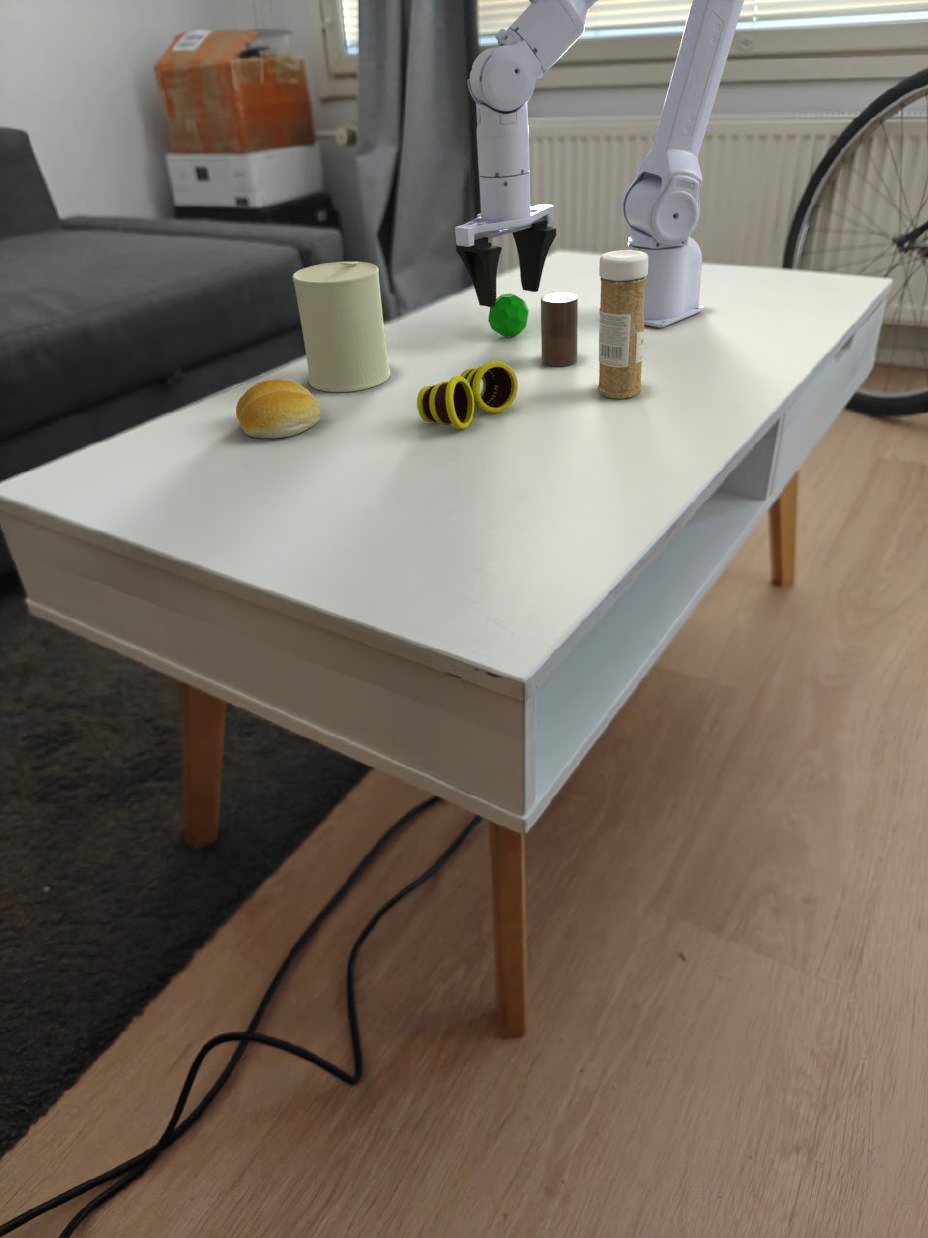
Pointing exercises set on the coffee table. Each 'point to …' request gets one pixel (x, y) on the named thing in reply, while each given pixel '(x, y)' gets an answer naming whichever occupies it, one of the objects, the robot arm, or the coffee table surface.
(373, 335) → the can
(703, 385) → the coffee table surface
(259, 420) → the bread roll
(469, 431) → the coffee table surface
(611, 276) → the sprinkles bottle
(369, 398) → the coffee table surface
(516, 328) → the polyhedron
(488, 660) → the coffee table surface
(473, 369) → the opera glasses
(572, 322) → the walnut peg
